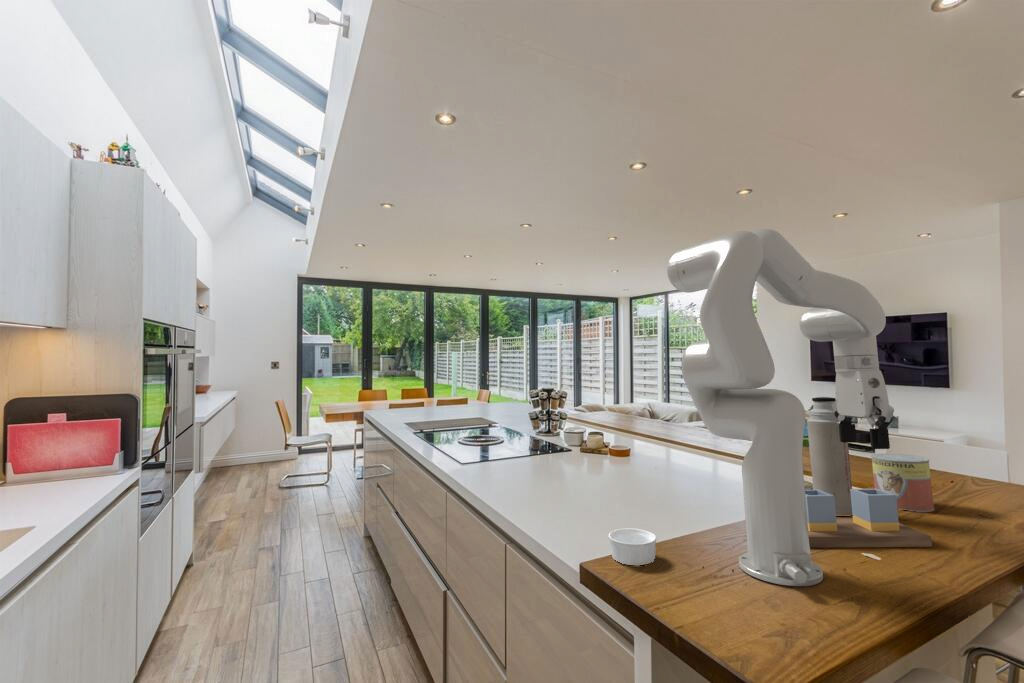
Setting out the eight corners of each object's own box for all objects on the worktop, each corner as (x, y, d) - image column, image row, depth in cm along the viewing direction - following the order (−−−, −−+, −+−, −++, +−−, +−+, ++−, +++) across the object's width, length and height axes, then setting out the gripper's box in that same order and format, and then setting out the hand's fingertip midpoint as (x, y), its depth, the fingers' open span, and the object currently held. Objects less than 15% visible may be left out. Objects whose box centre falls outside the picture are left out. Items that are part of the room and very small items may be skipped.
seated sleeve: (837, 531, 91) (834, 495, 92) (809, 531, 92) (806, 496, 92) (821, 522, 97) (818, 489, 97) (795, 522, 97) (792, 489, 98)
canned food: (866, 503, 116) (861, 456, 117) (890, 497, 121) (885, 452, 122) (920, 514, 106) (914, 463, 107) (943, 507, 111) (938, 458, 112)
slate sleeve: (899, 530, 91) (896, 495, 91) (871, 530, 91) (868, 495, 92) (879, 522, 96) (876, 488, 97) (853, 522, 96) (850, 489, 97)
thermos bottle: (858, 512, 110) (847, 396, 112) (849, 519, 105) (837, 398, 107) (820, 505, 116) (811, 396, 118) (809, 512, 111) (800, 397, 113)
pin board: (932, 546, 87) (928, 514, 87) (803, 547, 89) (800, 516, 89) (885, 526, 99) (882, 498, 99) (772, 527, 101) (770, 500, 101)
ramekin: (600, 554, 89) (599, 531, 89) (638, 546, 92) (637, 525, 92) (627, 572, 80) (626, 547, 81) (667, 563, 83) (666, 539, 84)
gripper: (906, 362, 88) (915, 451, 86) (848, 365, 105) (854, 439, 104) (866, 363, 88) (874, 451, 87) (814, 366, 106) (820, 440, 104)
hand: (863, 445), depth 95 cm, fingers open, 9 cm apart
